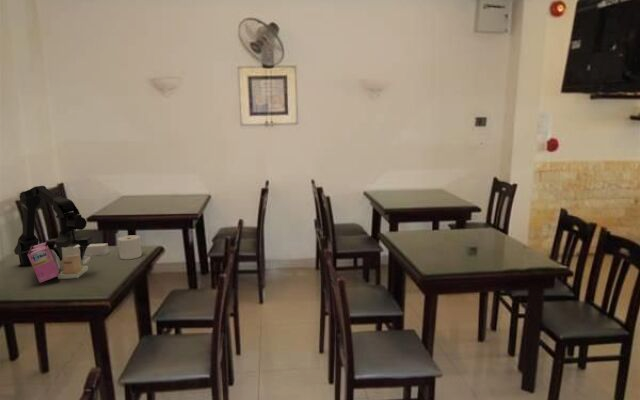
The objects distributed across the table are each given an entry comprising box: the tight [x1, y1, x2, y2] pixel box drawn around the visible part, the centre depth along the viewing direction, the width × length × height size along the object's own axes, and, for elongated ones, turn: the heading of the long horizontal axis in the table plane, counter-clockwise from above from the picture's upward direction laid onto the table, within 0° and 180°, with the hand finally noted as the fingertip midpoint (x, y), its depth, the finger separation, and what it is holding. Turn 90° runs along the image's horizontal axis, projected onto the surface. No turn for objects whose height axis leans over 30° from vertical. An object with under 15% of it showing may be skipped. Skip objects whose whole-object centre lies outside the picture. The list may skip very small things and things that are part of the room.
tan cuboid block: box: [62, 254, 82, 274], centre depth 214 cm, size 4×8×8 cm, turn 5°
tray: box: [57, 265, 89, 280], centre depth 215 cm, size 9×11×2 cm
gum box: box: [28, 239, 61, 283], centre depth 211 cm, size 24×8×14 cm, turn 28°
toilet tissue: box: [117, 234, 143, 260], centre depth 239 cm, size 11×12×10 cm
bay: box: [72, 242, 110, 266], centre depth 238 cm, size 16×20×5 cm
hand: (71, 260), depth 214 cm, fingers open, 9 cm apart
